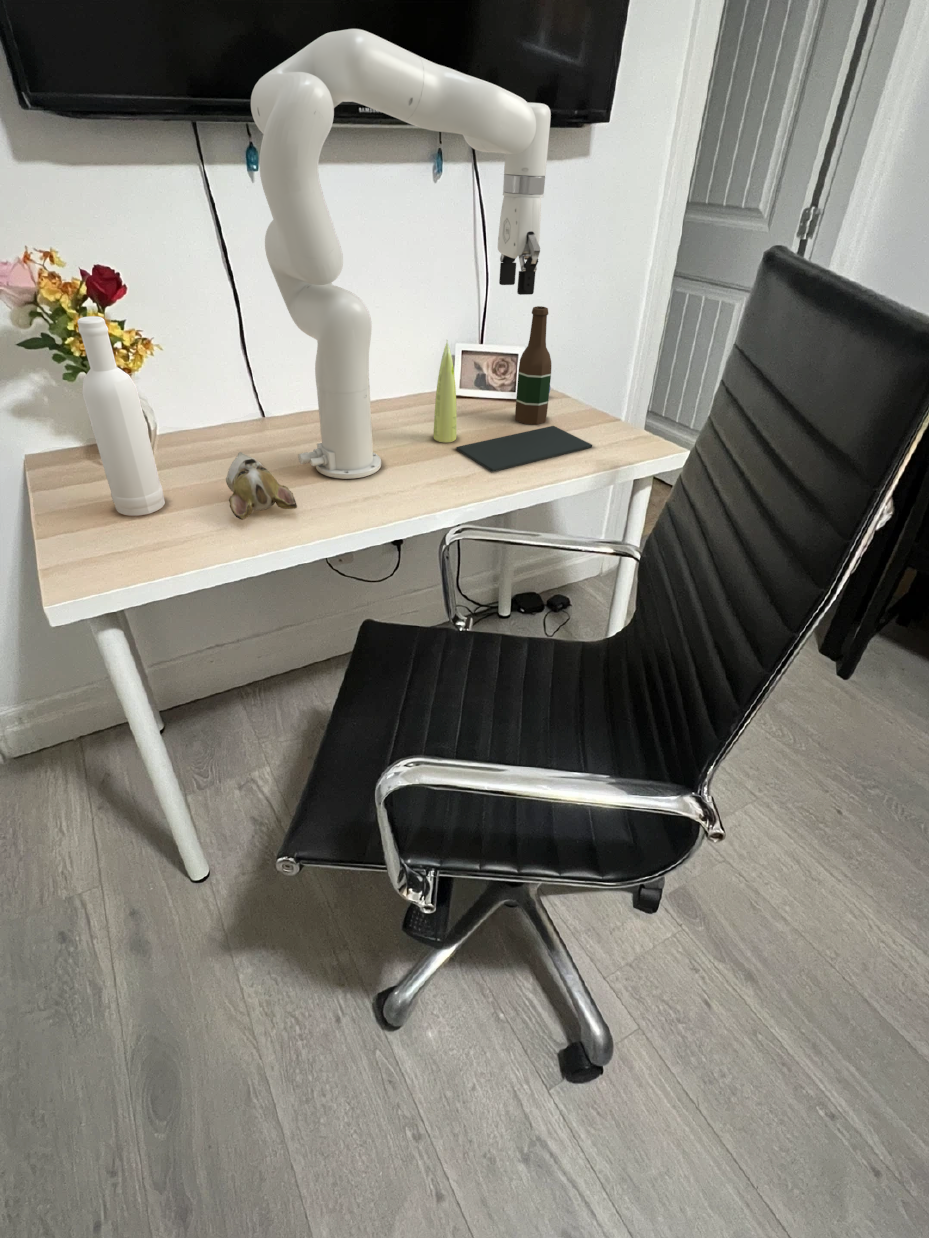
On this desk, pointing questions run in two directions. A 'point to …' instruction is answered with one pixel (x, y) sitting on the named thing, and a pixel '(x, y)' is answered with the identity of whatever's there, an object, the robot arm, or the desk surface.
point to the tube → (445, 401)
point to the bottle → (118, 425)
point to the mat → (523, 448)
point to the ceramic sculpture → (255, 488)
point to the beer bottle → (534, 373)
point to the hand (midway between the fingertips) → (515, 289)
